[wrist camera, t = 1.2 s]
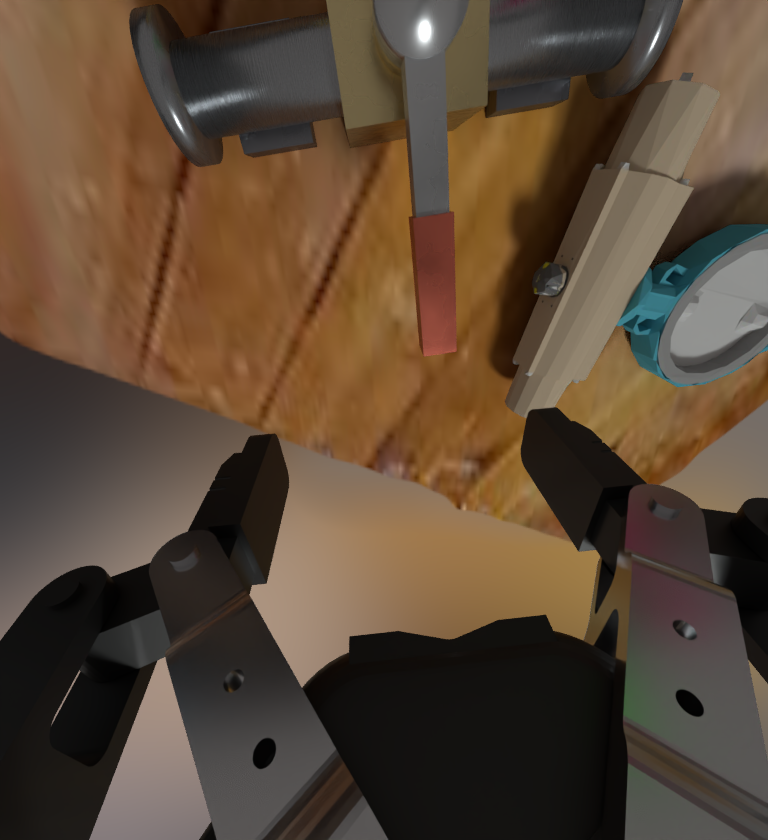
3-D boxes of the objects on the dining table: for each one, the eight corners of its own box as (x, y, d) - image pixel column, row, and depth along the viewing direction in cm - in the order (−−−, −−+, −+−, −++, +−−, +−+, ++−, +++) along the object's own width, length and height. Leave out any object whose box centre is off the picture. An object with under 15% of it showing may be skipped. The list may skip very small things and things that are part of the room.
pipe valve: (222, 171, 27) (157, 158, 18) (180, 43, 23) (73, -48, 14) (586, 109, 26) (696, 66, 17) (607, -35, 22) (761, -181, 13)
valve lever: (365, -51, 14) (365, -84, 13) (458, -69, 14) (471, -104, 13) (407, 347, 24) (410, 358, 23) (462, 339, 24) (470, 349, 23)
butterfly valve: (854, 172, 31) (590, 67, 24) (971, 169, 26) (673, 32, 19) (669, 413, 46) (468, 393, 38) (719, 445, 40) (494, 429, 33)
